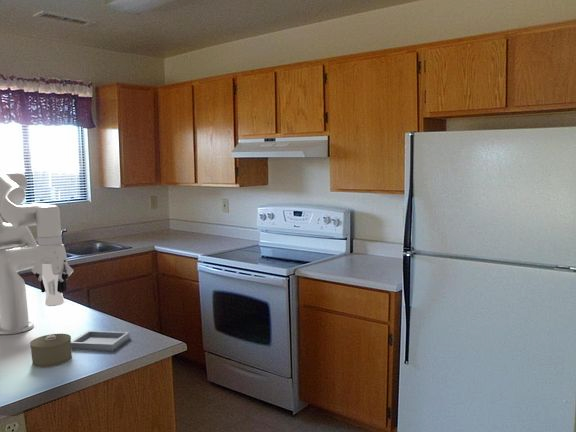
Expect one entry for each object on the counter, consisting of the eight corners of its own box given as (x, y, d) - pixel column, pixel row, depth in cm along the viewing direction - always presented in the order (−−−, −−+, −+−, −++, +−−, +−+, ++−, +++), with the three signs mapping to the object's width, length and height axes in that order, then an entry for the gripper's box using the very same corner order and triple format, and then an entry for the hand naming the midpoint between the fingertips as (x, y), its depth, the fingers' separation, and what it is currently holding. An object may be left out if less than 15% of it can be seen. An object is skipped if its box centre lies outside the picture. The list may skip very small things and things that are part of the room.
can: (30, 371, 159) (28, 349, 158) (32, 357, 170) (30, 337, 169) (72, 363, 163) (71, 342, 163) (72, 350, 174) (70, 331, 173)
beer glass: (57, 307, 177) (54, 264, 175) (39, 306, 178) (35, 263, 176) (69, 301, 184) (66, 259, 182) (52, 300, 185) (49, 259, 183)
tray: (69, 349, 175) (68, 342, 175) (89, 337, 187) (88, 330, 187) (113, 351, 172) (112, 344, 172) (130, 338, 184) (129, 332, 184)
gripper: (20, 242, 176) (24, 293, 178) (66, 243, 173) (70, 295, 175) (34, 238, 183) (38, 288, 186) (79, 239, 180) (82, 289, 183)
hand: (54, 291), depth 181 cm, fingers closed on beer glass, 6 cm apart
